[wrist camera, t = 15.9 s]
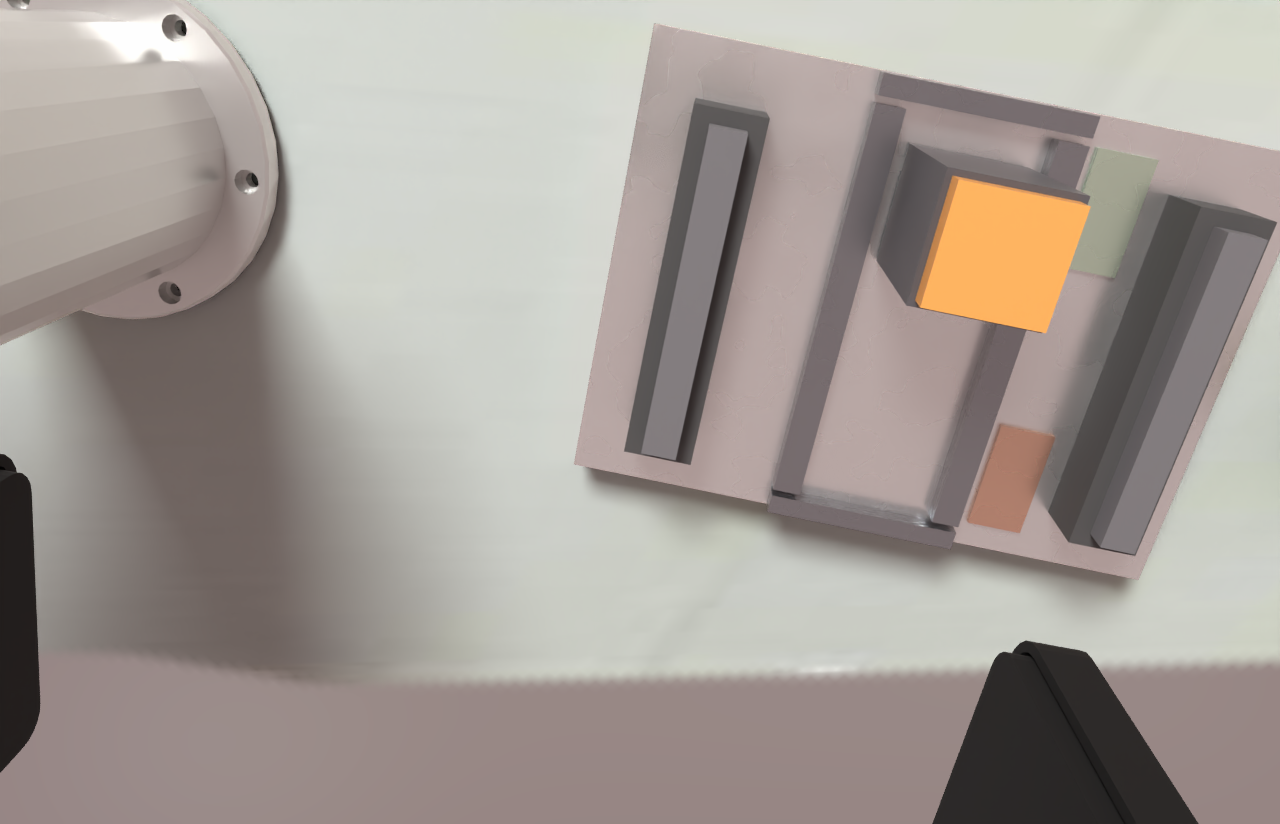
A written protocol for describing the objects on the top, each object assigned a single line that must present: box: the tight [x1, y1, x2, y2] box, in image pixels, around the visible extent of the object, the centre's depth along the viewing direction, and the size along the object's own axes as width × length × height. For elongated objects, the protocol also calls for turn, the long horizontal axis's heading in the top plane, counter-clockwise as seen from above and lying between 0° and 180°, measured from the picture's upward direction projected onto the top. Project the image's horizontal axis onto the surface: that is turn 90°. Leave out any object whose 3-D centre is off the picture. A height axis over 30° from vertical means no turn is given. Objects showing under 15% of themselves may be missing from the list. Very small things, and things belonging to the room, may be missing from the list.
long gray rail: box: [624, 98, 1277, 556], centre depth 34 cm, size 18×12×3 cm, turn 79°
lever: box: [876, 143, 1091, 333], centre depth 31 cm, size 4×4×7 cm
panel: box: [574, 23, 1280, 580], centre depth 36 cm, size 22×16×3 cm
